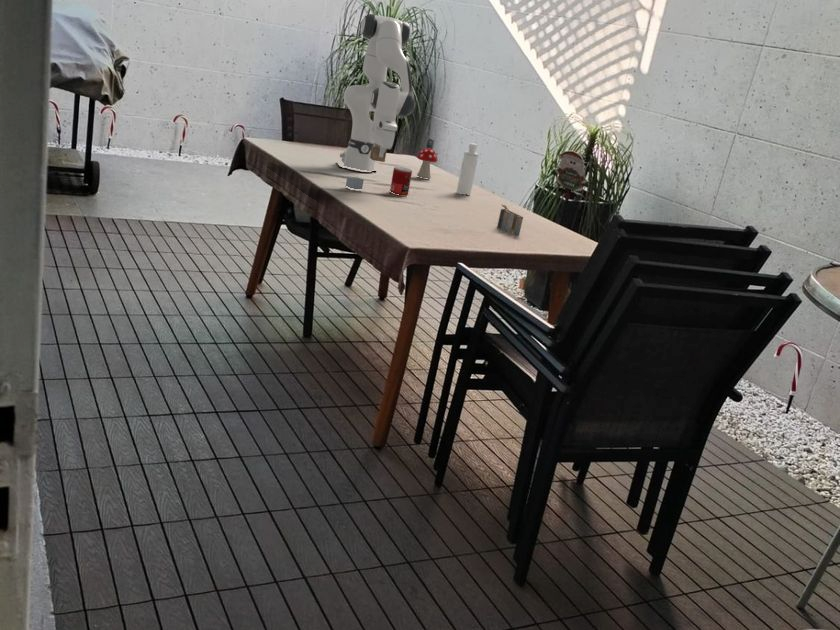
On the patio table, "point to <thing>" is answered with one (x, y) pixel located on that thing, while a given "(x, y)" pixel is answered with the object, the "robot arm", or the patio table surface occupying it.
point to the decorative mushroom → (426, 162)
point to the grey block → (354, 182)
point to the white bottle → (468, 170)
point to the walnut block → (375, 152)
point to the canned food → (401, 180)
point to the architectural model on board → (510, 221)
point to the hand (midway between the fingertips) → (378, 155)
